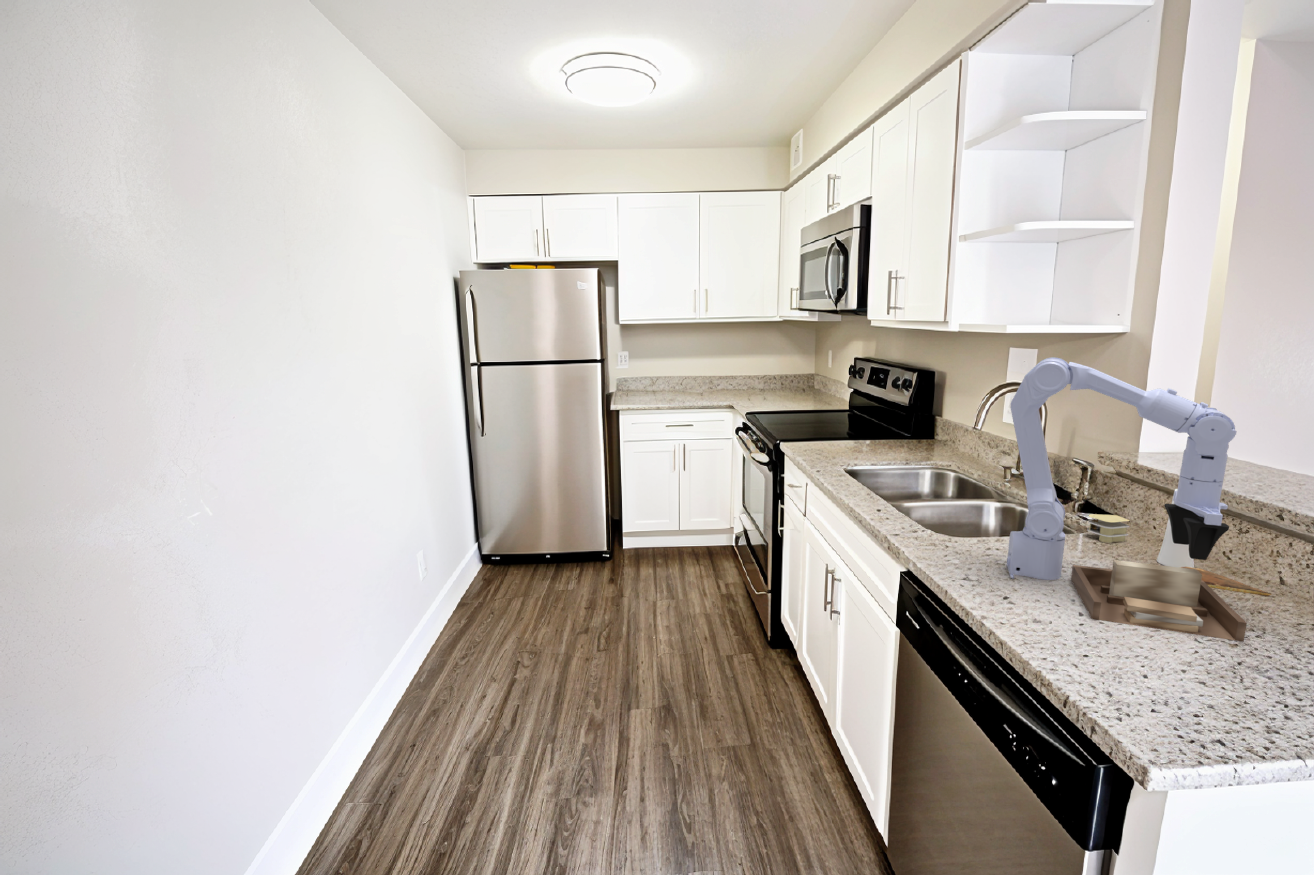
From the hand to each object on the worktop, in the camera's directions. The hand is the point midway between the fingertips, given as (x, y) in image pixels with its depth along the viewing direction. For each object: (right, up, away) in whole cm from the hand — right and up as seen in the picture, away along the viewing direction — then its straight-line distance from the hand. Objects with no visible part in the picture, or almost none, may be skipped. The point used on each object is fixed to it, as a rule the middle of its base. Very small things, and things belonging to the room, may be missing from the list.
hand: (1188, 550), depth 108 cm
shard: (+13, -9, +10) cm, 19 cm away
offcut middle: (-10, -10, -7) cm, 16 cm away
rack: (-8, -11, -1) cm, 13 cm away
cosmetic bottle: (+14, -7, +19) cm, 24 cm away
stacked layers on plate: (+10, -4, +34) cm, 36 cm away
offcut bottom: (-11, -11, -6) cm, 17 cm away
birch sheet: (-7, -10, 0) cm, 12 cm away
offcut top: (-11, -9, -7) cm, 16 cm away
